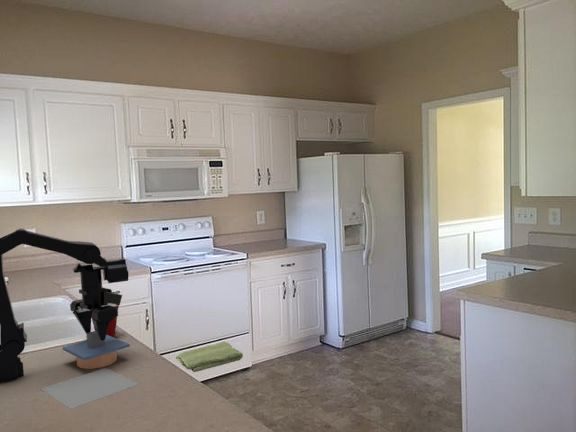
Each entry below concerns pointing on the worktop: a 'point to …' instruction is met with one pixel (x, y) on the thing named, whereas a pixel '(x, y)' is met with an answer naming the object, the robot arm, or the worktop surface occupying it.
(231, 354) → the washcloth
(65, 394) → the mat
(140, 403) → the worktop surface
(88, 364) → the bowl
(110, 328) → the plastic cup
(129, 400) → the worktop surface
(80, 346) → the cover sheet
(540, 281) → the worktop surface
